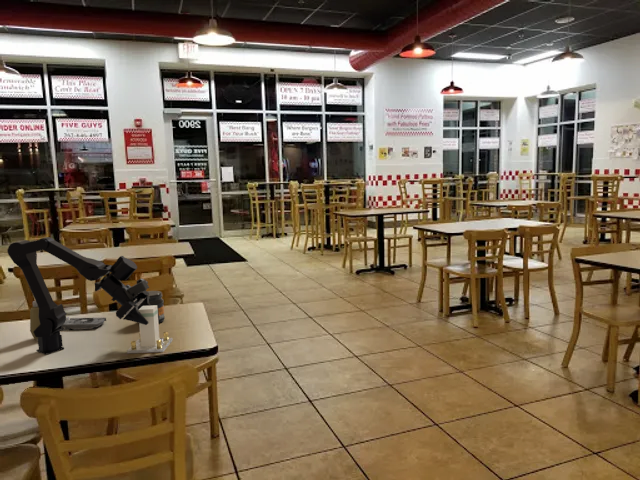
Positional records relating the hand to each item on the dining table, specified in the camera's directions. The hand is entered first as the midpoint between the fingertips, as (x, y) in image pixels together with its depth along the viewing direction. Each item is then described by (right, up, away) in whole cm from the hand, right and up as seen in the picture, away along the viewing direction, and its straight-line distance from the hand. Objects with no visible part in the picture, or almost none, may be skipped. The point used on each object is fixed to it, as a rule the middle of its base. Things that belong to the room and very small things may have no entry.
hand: (151, 320), depth 174 cm
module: (-1, -8, +1) cm, 9 cm away
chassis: (-1, -9, +1) cm, 10 cm away
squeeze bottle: (-45, -9, +14) cm, 48 cm away
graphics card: (-37, -8, +27) cm, 46 cm away
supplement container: (-11, -6, +31) cm, 34 cm away
